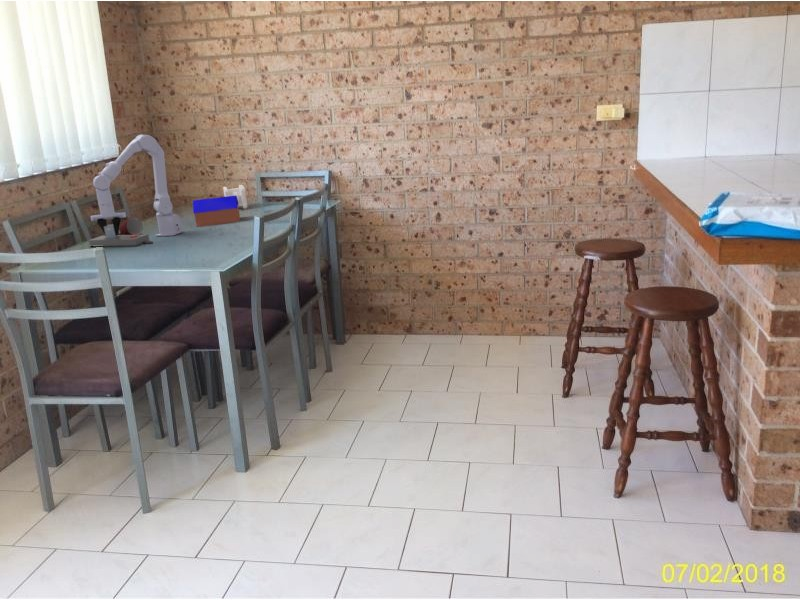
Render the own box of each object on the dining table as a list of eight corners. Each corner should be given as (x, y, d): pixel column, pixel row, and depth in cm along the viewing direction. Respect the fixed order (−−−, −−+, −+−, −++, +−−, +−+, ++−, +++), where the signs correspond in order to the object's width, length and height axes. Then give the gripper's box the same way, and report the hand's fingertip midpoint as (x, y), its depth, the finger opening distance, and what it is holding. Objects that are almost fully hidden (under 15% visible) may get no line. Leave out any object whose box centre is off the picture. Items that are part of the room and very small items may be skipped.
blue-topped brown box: (239, 222, 347) (235, 197, 344) (195, 227, 345) (191, 202, 341) (240, 217, 358) (236, 193, 355) (198, 222, 356) (194, 198, 353)
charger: (119, 239, 323) (116, 224, 321) (116, 241, 318) (112, 225, 316) (110, 240, 323) (106, 224, 320) (106, 242, 318) (103, 226, 316)
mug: (122, 245, 339) (133, 243, 333) (108, 233, 335) (119, 231, 328) (134, 228, 344) (146, 225, 338) (121, 216, 340) (132, 213, 333)
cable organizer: (226, 208, 391) (222, 186, 388) (246, 205, 394) (242, 183, 390) (227, 212, 377) (224, 189, 374) (248, 209, 380) (245, 186, 376)
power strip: (159, 240, 319) (157, 232, 318) (146, 245, 311) (144, 237, 310) (104, 242, 328) (102, 234, 327) (90, 247, 320) (88, 238, 319)
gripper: (125, 200, 320) (132, 231, 324) (92, 204, 320) (98, 235, 324) (120, 203, 313) (126, 235, 317) (86, 207, 313) (92, 238, 317)
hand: (112, 235), depth 320 cm, fingers closed on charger, 4 cm apart
